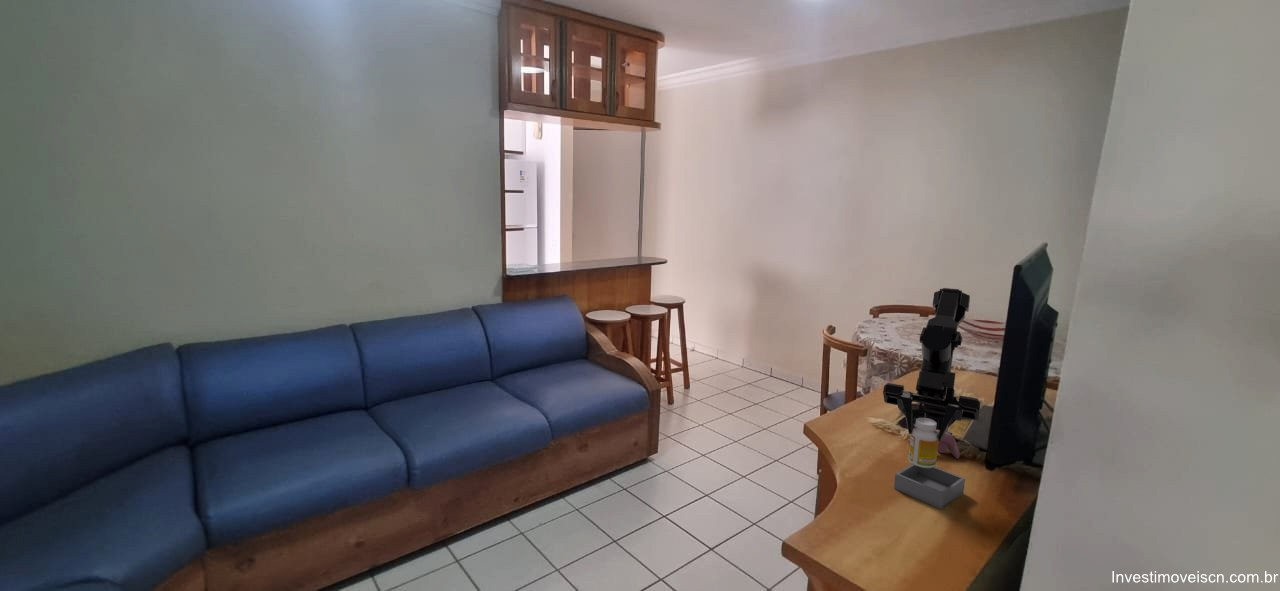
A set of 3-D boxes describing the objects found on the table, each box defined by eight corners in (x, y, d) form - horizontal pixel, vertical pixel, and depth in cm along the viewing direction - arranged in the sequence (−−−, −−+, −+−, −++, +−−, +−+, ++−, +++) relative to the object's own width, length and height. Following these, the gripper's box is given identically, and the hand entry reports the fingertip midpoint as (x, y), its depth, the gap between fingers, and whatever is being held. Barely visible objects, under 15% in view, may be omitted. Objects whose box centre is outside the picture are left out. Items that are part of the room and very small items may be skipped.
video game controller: (953, 458, 137) (950, 430, 139) (962, 459, 133) (959, 429, 134) (912, 457, 138) (910, 428, 140) (920, 457, 133) (917, 428, 135)
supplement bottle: (941, 464, 118) (946, 423, 116) (925, 471, 115) (930, 428, 113) (917, 454, 122) (922, 414, 120) (902, 460, 120) (907, 419, 118)
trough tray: (916, 474, 126) (918, 460, 126) (963, 493, 118) (965, 478, 118) (893, 488, 120) (895, 473, 120) (941, 509, 112) (943, 494, 112)
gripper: (888, 348, 122) (874, 411, 115) (985, 363, 112) (977, 432, 105) (890, 371, 130) (878, 431, 123) (981, 386, 120) (974, 453, 113)
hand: (924, 436), depth 116 cm, fingers closed on supplement bottle, 5 cm apart
